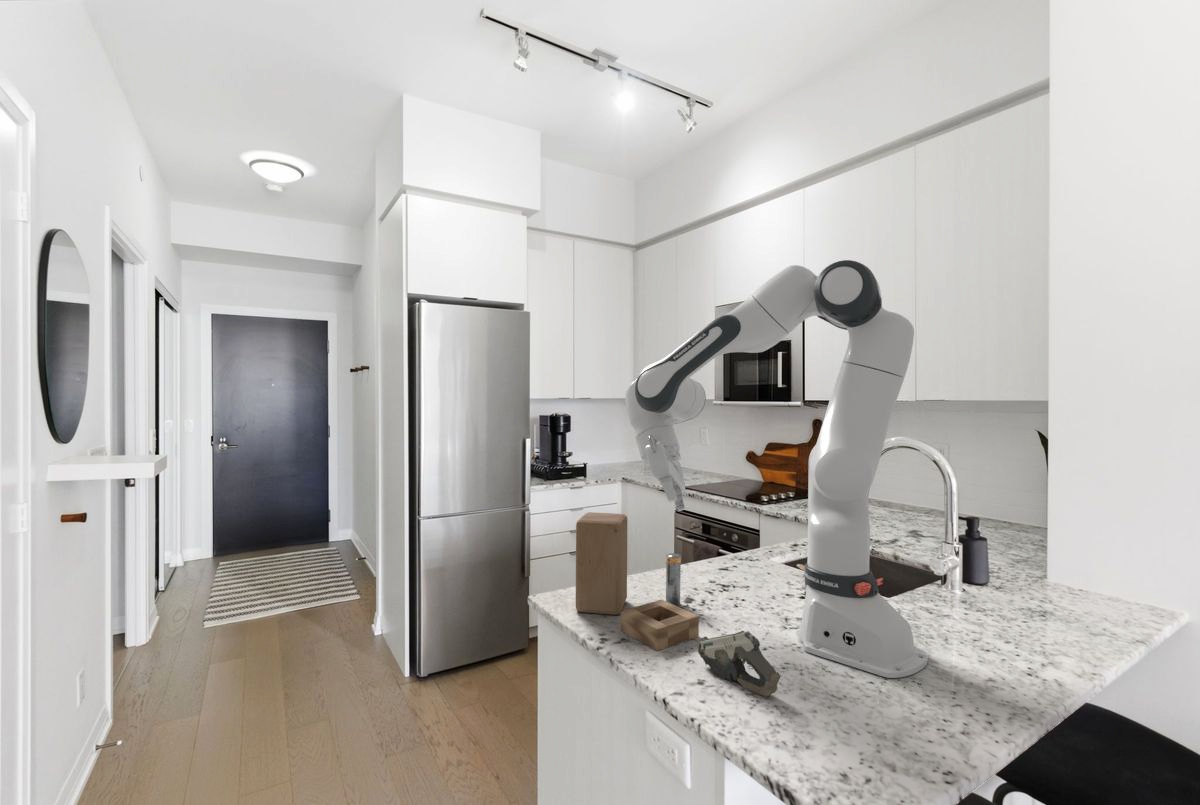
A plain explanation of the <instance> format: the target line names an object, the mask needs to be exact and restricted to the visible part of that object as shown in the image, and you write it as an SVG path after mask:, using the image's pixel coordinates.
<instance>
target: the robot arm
mask: <svg viewBox="0 0 1200 805" xmlns="http://www.w3.org/2000/svg"><path fill="white" fill-rule="evenodd" d="M882 299H883V298H882V294H881V288H880V284H879V282H878V279H876V277H875V274H874V273H873V271H872V270H871V269H870V268H869V267H868V266H866V265H864V264H863V263H862V262H859V261H855V260H852V259H851V260H850V259H849V260H848V259H846V260H838V261H835V262H833V263H830V264H828V266H826V267H825V268H824V269H822V271H821V272H820V273H819V274H818V275H816V274H815V273H814V272H813V271H811V270H810V269H809V268H807V267H806V266H802V265H797V264H796V265H794V264H793V265H789V266H787V267H785V268H784V269H783V270H781V271H779V272H778V273H776V274H775V275H773V276H772V277H771V278H769V279H768V280H767V281H766V282H764V283H762V285H761V286H759V287H758V288H757V289H756V290H755V291H754V292H753V293H751V295H750V296H748V297H747V298H746V299H745V300H744V301H742V302H741V303H740V304H739V305H737V306H736V307H735V308H734V309H732V310H730V311H729V312H727V313H726V314H725V313H724V315H721V316H720V317H717V318H716V319H714V320H712V321H711V322H709V323H708V324H706V325H705V326H704V327H702V328H701V329H700V330H699V331H697V332H696V333H694V334H693V335H692V336H691V337H690V338H689V339H687V340H686V341H685V342H684V343H683V342H682V344H681V345H680V346H678V347H677V348H676V349H675V350H673V351H672V352H671V353H669V354H668V355H667V356H665V357H664V358H662V359H660V360H658V361H655V362H652V363H650V364H648V365H647V366H645V367H644V368H643V369H642V370H641V371H640V373H639V375H638V376H637V378H636V379H635V381H633V382H632V383H631V384H629V385H628V386H627V389H626V391H625V406H626V411H627V414H628V415H627V416H628V418H629V423H630V425H631V426H632V428H633V429H634V434H635V441H636V445H637V449H638V451H639V454H640V458H641V460H642V461H643V462H646V463H647V462H648V464H649V467H650V471H651V474H652V476H653V477H654V479H656V481H657V482H658V483H659V484H660V485H661V486H662V488H663V491H664V493H665V496H666V499H667V501H668V502H670V503H673V502H674V505H675V508H676V510H677V511H678V512H681V511H684V510H686V505H685V501H684V496H683V494H684V493H686V484H685V479H684V475H683V470H682V467H681V463H680V461H679V460H681V458H682V457H681V454H680V448H681V446H680V444H679V440H678V437H677V435H676V432H675V429H674V425H676V424H680V423H684V422H687V421H689V420H693V419H694V418H696V417H698V416H699V414H701V412H702V411H703V409H704V407H705V404H706V399H707V398H706V397H707V396H706V391H705V389H704V387H703V385H702V384H701V383H700V382H699V381H696V380H695V379H693V378H691V376H692V377H693V375H695V373H697V372H698V371H700V370H701V369H702V368H703V367H704V366H706V365H708V364H709V363H710V362H711V361H712V360H714V359H715V358H717V357H720V356H722V355H724V354H730V353H731V354H732V353H750V354H753V353H754V354H757V353H763V352H765V351H767V350H769V349H771V348H773V347H774V346H776V345H777V344H778V343H780V342H781V341H782V340H783V339H784V338H786V336H788V335H789V334H790V333H792V331H793V330H795V329H796V327H798V326H799V325H800V324H802V322H804V321H806V320H808V319H809V318H811V317H814V316H817V317H818V318H819V319H821V320H823V321H825V322H827V323H828V324H831V326H834V327H835V328H838V329H840V330H845V331H847V332H848V344H847V347H846V351H845V353H844V357H843V360H842V363H841V365H840V368H839V371H838V375H837V376H836V380H835V383H834V386H833V389H832V392H831V396H830V397H829V401H828V404H827V408H826V411H825V415H824V417H823V418H824V419H823V422H822V425H821V427H820V431H819V434H818V437H817V441H816V444H815V445H814V446H813V448H812V449H811V451H810V453H809V456H808V468H807V470H808V482H807V484H808V488H807V490H808V491H807V492H808V493H807V497H808V498H807V562H806V563H805V564H804V565H805V571H804V585H805V586H806V589H805V596H804V597H805V599H804V606H803V611H802V615H801V616H802V618H801V621H800V624H799V627H798V630H797V637H798V638H799V640H800V641H801V642H802V643H803V650H804V651H805V652H806V653H810V654H812V655H815V656H819V657H822V658H825V659H827V660H830V661H834V662H838V663H840V664H844V665H846V666H849V667H852V668H856V669H858V670H862V671H866V672H868V673H871V674H874V675H877V676H880V677H884V678H887V679H888V678H889V679H897V678H904V677H908V676H911V675H913V674H916V673H918V672H919V671H921V670H923V669H924V668H925V667H926V666H927V664H928V662H929V659H928V653H927V651H925V650H922V649H921V648H920V647H919V648H918V647H916V646H915V643H914V642H915V641H914V637H913V636H914V635H913V632H912V631H913V630H912V628H911V627H912V626H911V624H910V623H909V622H908V620H907V619H906V618H904V616H902V615H901V613H899V612H898V610H896V609H895V608H894V607H893V606H892V605H891V604H890V603H889V601H887V600H886V598H884V596H882V595H881V594H880V593H879V588H878V587H879V586H880V585H883V584H884V583H883V580H884V577H880V578H875V576H874V575H873V573H872V570H871V569H870V551H871V550H870V547H871V546H870V544H871V541H870V540H871V538H870V537H871V527H870V526H871V524H870V513H869V490H870V489H871V488H872V485H873V483H874V479H875V477H876V473H877V470H878V466H879V463H880V459H881V456H882V452H883V448H884V446H885V441H886V437H887V432H888V429H889V424H890V421H891V418H892V415H893V412H894V409H895V406H896V402H898V401H897V400H898V397H899V394H900V391H901V389H902V385H903V383H904V380H905V377H906V374H907V371H908V367H909V363H910V360H911V356H912V352H913V345H914V339H915V338H914V337H915V329H914V326H913V324H912V322H911V321H910V320H909V319H908V318H906V317H905V316H904V315H901V314H899V313H897V312H893V311H889V310H886V309H885V308H884V307H883V303H882V301H883V300H882Z"/></svg>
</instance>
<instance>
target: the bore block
mask: <svg viewBox="0 0 1200 805" xmlns="http://www.w3.org/2000/svg"><path fill="white" fill-rule="evenodd" d="M620 617H621V619H620V624H621V625H620V631H621V632H623V633H624V632H625V634H626V633H627V635H628V634H629V635H628V636H630V635H631V636H630V637H632V636H633V637H634V639H635V638H636V639H635V640H637V639H638V640H637V641H639V642H641V643H642V642H643V644H644V643H645V644H644V645H646V644H647V645H646V646H647V647H650V648H651V647H652V649H653V650H655V649H656V650H655V651H657V650H658V651H661V650H663V649H666V648H668V647H672V646H675V645H678V644H680V643H683V642H686V640H687V641H690V640H692V639H695V638H697V637H699V634H700V629H699V628H700V627H699V625H700V616H699V615H697V614H695V613H693V612H692V611H688V610H687V609H685V608H684V609H683V608H682V607H680V606H675V605H673V604H671V603H668V602H666V600H664V599H659V600H655V601H652V602H648V603H645V604H641V605H638V606H634V607H631V608H630V607H629V608H626V609H624V610H623V609H622V610H621V612H620ZM633 637H632V638H633ZM677 643H678V644H677ZM674 644H675V645H674ZM671 645H672V646H671ZM665 647H666V648H665ZM660 649H661V650H660Z"/></svg>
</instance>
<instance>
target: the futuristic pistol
mask: <svg viewBox="0 0 1200 805" xmlns="http://www.w3.org/2000/svg"><path fill="white" fill-rule="evenodd" d="M700 639H701V640H700V643H698V644H697V654H698V655H699V656H700V658H701V659H702V660H703V662H704V663H705V665H706V666H709V668H710V671H711V672H712V673H713V674H714V675H715V676H717V677H719V678H721V679H723V680H727V681H730V682H731V681H737V682H738V683H739V684H740V685H741V686H742V687H743V689H744V690H745V689H746V690H747V691H749V692H752V693H754V694H757V695H759V696H761V697H762V696H763V697H769V696H771V695H774V694H775V693H776V692H777V690H779V689H778V684H779V682H780V679H781V675H780V673H779V672H778V671H777V670H776V669H775V668H774V666H772V664H770V662H769V661H768V660H767V659H766V658H765V656H764V655H763V654H762V652H761V650H760V647H761V643H760V642H761V641H759V639H758V638H757V637H756V636H755V635H753V634H752V633H750V631H749V630H748V631H744V630H742V631H740V632H739V631H738V632H735V633H732V634H725V635H721V636H716V637H710V638H709V637H708V636H705V635H704V636H703V637H700ZM745 663H746V664H747V665H749V666H751V667H752V669H753V670H754V672H755V673H756V674H757V676H758V677H759V678H757V677H756V676H753V675H751V674H749V672H747V670H746V667H745Z"/></svg>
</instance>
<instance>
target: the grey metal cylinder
mask: <svg viewBox="0 0 1200 805" xmlns="http://www.w3.org/2000/svg"><path fill="white" fill-rule="evenodd" d="M665 563H666V564H665V601H666V602H668V603H671V604H673V605H675V606H677V607H680V606H681V567H682V566H681V564H682V555H680V554H679V553H667V554H666V555H665ZM679 605H680V606H679Z"/></svg>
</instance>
